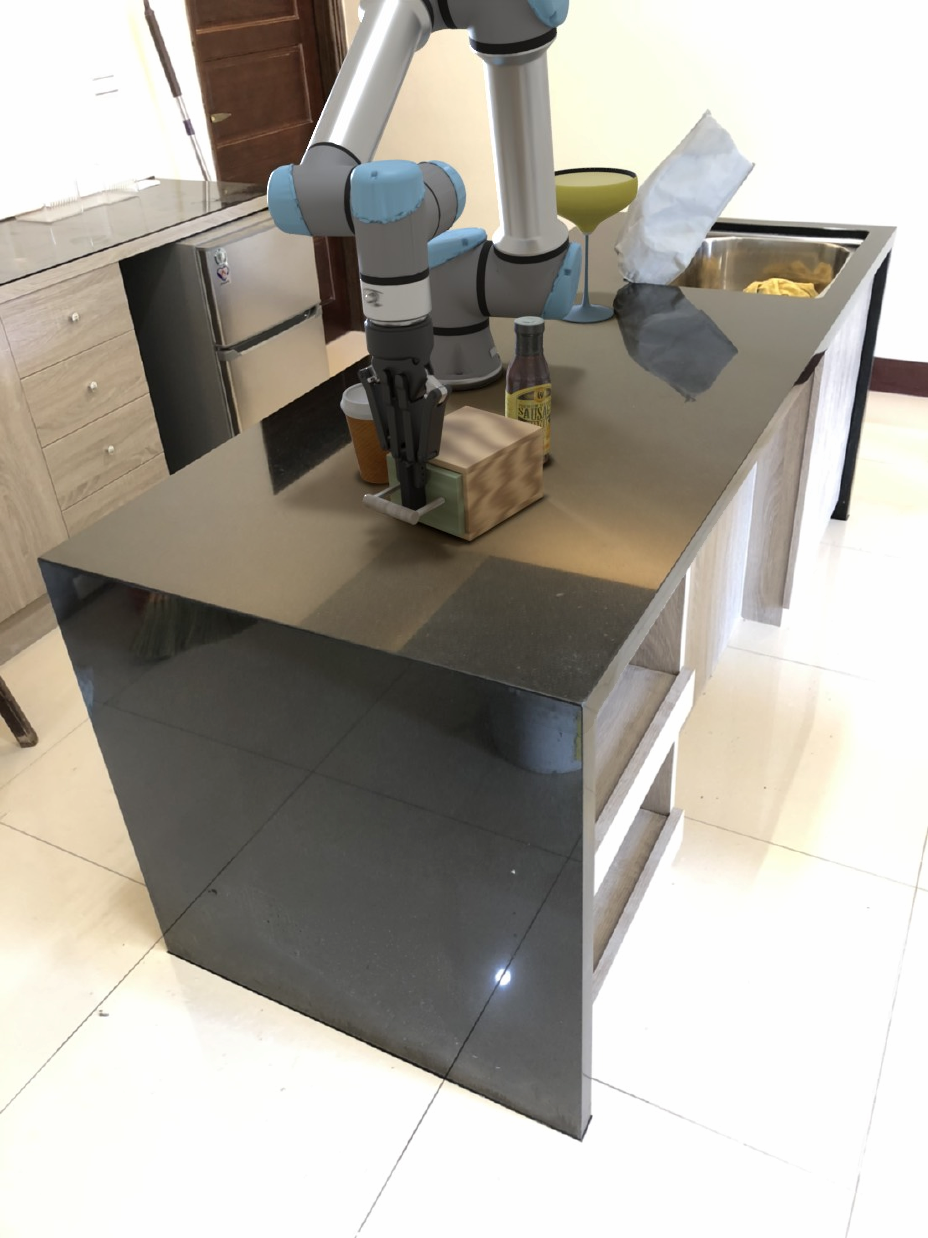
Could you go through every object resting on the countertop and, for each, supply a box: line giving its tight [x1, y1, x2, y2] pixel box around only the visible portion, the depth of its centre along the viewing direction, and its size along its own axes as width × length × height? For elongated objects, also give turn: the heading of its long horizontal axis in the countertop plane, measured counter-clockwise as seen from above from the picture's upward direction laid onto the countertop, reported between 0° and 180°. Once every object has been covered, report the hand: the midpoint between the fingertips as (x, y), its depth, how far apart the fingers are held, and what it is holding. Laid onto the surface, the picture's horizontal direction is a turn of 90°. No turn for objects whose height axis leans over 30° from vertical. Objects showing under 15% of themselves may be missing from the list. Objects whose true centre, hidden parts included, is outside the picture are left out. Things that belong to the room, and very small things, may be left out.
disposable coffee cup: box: [339, 382, 390, 484], centre depth 137 cm, size 10×10×12 cm
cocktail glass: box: [554, 166, 639, 324], centre depth 189 cm, size 18×18×25 cm
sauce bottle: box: [504, 316, 552, 465], centre depth 136 cm, size 6×6×20 cm
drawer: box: [362, 453, 466, 538], centre depth 126 cm, size 20×12×8 cm, turn 139°
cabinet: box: [390, 405, 544, 542], centre depth 129 cm, size 15×13×10 cm
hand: (414, 507), depth 123 cm, fingers closed
